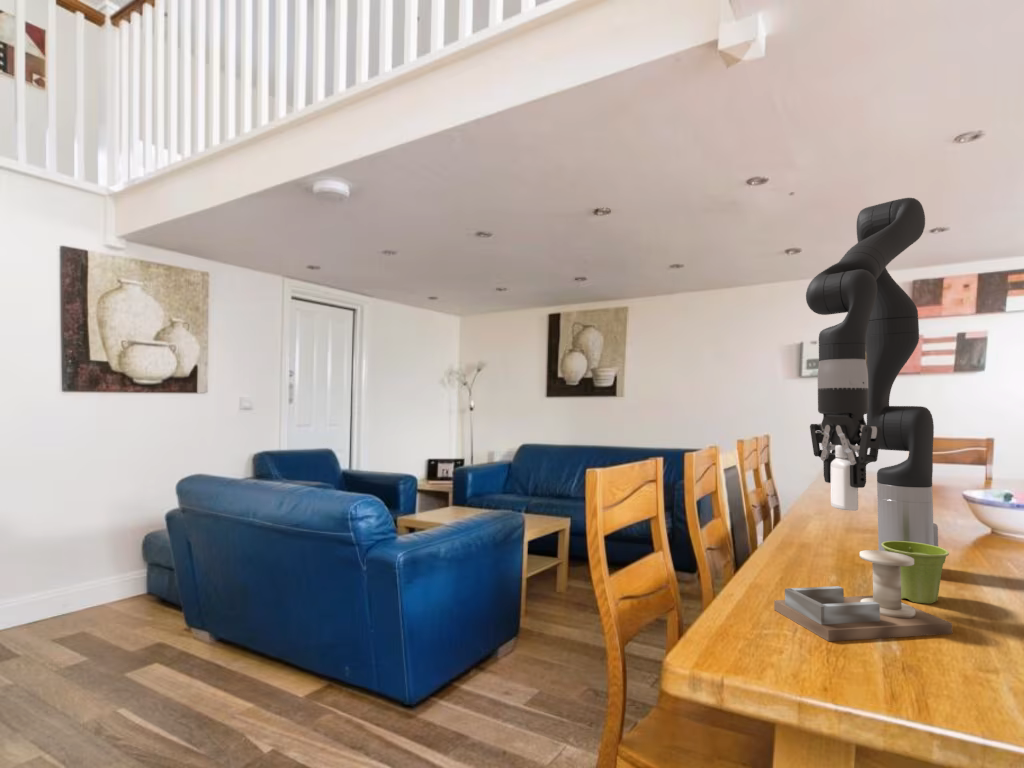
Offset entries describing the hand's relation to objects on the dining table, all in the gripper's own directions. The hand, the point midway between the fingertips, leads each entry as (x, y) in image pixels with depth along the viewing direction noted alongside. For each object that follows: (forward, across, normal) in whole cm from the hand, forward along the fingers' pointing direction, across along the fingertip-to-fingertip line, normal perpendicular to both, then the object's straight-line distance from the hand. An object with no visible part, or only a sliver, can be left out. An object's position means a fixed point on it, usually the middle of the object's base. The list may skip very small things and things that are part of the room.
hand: (844, 484), depth 94 cm
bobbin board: (+20, -9, +5) cm, 22 cm away
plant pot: (+20, -1, -13) cm, 24 cm away
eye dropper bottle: (+4, 0, 0) cm, 4 cm away
